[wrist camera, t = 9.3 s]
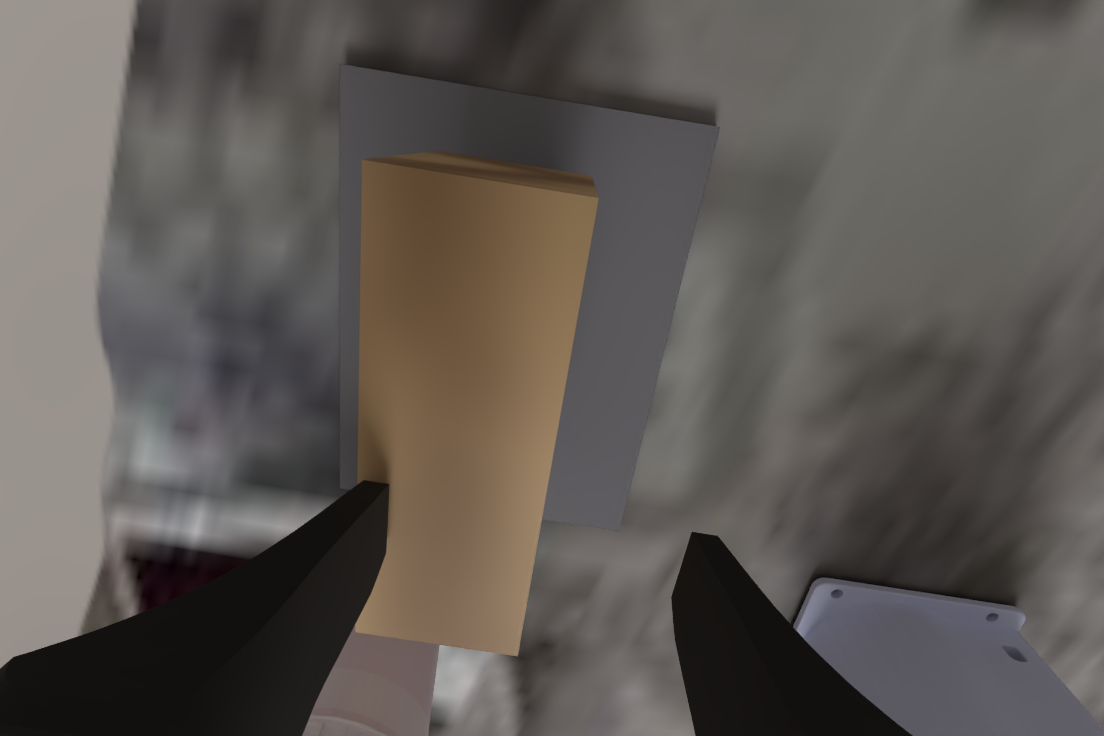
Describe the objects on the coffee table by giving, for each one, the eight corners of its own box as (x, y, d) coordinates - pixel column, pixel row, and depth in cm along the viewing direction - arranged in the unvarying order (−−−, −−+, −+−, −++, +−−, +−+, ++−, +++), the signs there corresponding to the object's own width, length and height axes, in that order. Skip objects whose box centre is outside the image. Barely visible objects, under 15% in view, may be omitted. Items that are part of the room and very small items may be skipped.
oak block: (591, 176, 16) (598, 197, 10) (534, 515, 20) (517, 656, 15) (438, 150, 16) (361, 160, 10) (415, 497, 20) (355, 632, 15)
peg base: (716, 127, 18) (741, 126, 15) (618, 523, 24) (623, 573, 21) (345, 65, 18) (302, 52, 15) (344, 481, 24) (313, 527, 21)
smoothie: (344, 512, 25) (85, 929, 12) (486, 540, 25) (386, 980, 12) (336, 616, 27) (115, 1055, 14) (465, 641, 27) (363, 1095, 14)
